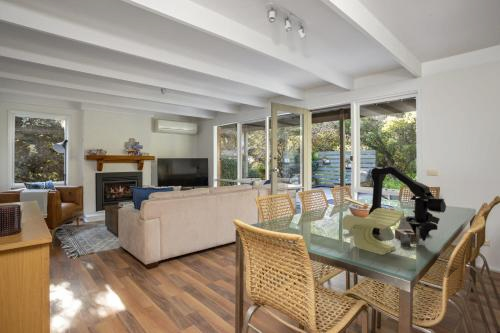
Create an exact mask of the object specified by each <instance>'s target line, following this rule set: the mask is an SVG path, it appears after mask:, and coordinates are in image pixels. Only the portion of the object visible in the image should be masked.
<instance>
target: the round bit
mask: <svg viewBox="0 0 500 333" xmlns="http://www.w3.org/2000/svg"><path fill="white" fill-rule="evenodd" d="M399 243H400V246H402V247H411V243H412V242H411V234H410V233H405V232H402V233H401V239H400V242H399Z"/></svg>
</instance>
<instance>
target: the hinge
mask: <svg viewBox="0 0 500 333" xmlns="http://www.w3.org/2000/svg"><path fill="white" fill-rule="evenodd" d="M406 217H407V216H404V217H403V218H402V220H399V223H398V226H397V228H396V229H409V230H412V228H411V226H410V224H409V223H410V222H407V221H406ZM420 227H421V226H420ZM428 235H430V232H429V233H428ZM428 235H427V236H428Z"/></svg>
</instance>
